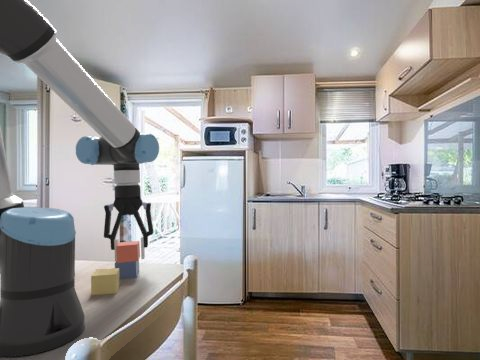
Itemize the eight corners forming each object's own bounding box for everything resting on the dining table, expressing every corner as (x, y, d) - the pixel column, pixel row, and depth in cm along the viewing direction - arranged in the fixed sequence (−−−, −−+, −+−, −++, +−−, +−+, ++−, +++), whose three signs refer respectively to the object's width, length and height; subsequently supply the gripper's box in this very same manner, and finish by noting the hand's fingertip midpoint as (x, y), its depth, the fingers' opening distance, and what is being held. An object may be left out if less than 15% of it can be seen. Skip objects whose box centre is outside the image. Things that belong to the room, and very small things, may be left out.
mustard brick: (116, 293, 82) (116, 274, 82) (91, 295, 80) (91, 275, 80) (119, 286, 87) (119, 268, 87) (95, 288, 86) (95, 269, 86)
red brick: (138, 261, 95) (137, 244, 95) (117, 263, 94) (116, 246, 94) (140, 256, 101) (139, 240, 101) (120, 258, 100) (119, 242, 100)
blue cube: (136, 278, 95) (135, 261, 95) (115, 280, 94) (114, 263, 94) (139, 272, 101) (138, 256, 101) (119, 274, 100) (118, 258, 100)
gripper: (161, 183, 103) (163, 253, 104) (95, 185, 99) (98, 258, 100) (160, 183, 96) (162, 259, 96) (89, 186, 92) (92, 265, 92)
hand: (130, 259), depth 98 cm, fingers open, 7 cm apart
